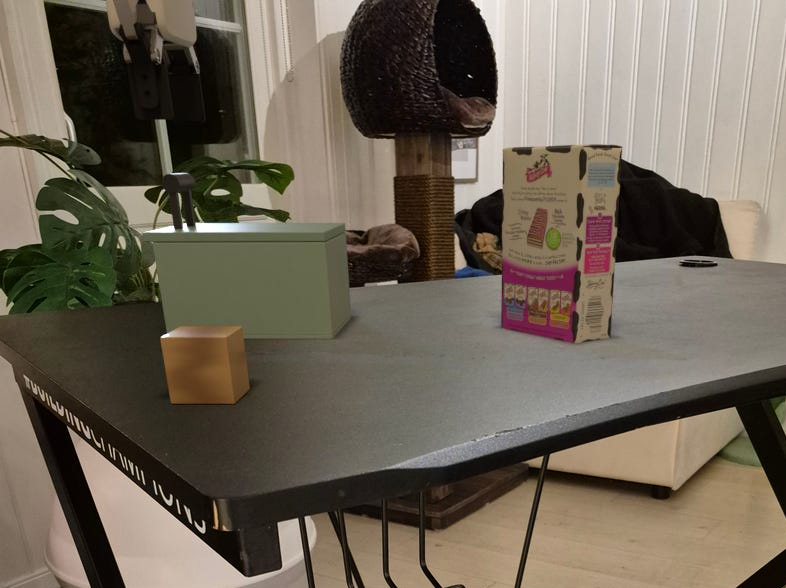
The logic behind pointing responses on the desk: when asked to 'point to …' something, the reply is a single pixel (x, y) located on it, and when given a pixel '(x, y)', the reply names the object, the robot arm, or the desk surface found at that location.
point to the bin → (256, 286)
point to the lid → (229, 230)
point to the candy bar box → (560, 240)
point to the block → (205, 364)
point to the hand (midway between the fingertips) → (173, 121)
